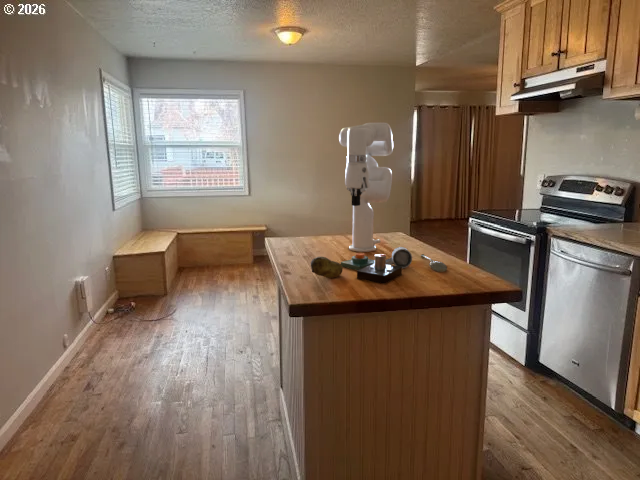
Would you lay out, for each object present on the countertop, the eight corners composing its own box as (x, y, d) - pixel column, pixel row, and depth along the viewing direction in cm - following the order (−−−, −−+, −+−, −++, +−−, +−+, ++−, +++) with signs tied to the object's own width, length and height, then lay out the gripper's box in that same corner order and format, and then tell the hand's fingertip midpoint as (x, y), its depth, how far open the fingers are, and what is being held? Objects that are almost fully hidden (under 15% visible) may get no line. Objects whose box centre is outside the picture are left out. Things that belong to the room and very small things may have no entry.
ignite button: (359, 256, 177) (359, 252, 177) (366, 258, 174) (366, 253, 174) (353, 258, 174) (353, 253, 174) (360, 259, 172) (360, 255, 172)
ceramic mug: (409, 263, 179) (409, 244, 177) (412, 268, 170) (412, 249, 169) (382, 263, 179) (383, 245, 178) (384, 268, 171) (384, 249, 170)
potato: (348, 279, 157) (348, 257, 156) (313, 282, 153) (313, 260, 152) (340, 272, 165) (340, 252, 163) (307, 275, 161) (307, 254, 160)
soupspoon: (432, 273, 166) (449, 274, 167) (433, 265, 166) (450, 265, 166) (415, 257, 188) (430, 257, 188) (416, 249, 187) (431, 250, 187)
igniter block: (359, 260, 183) (360, 252, 182) (379, 265, 176) (379, 256, 175) (340, 266, 174) (340, 257, 174) (359, 271, 167) (359, 262, 167)
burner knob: (373, 269, 158) (373, 255, 157) (376, 266, 162) (376, 252, 161) (383, 270, 157) (384, 256, 156) (386, 268, 160) (387, 253, 159)
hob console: (375, 270, 169) (375, 262, 168) (401, 274, 162) (402, 266, 162) (356, 278, 157) (357, 270, 157) (384, 284, 151) (384, 275, 151)
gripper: (376, 160, 171) (375, 206, 175) (352, 159, 183) (351, 203, 187) (361, 160, 167) (360, 208, 171) (337, 159, 179) (337, 204, 183)
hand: (355, 205), depth 179 cm, fingers closed
